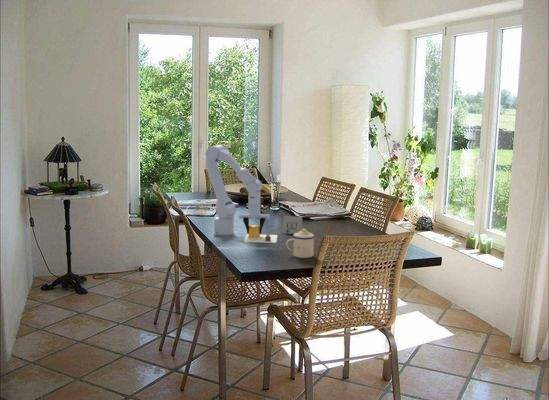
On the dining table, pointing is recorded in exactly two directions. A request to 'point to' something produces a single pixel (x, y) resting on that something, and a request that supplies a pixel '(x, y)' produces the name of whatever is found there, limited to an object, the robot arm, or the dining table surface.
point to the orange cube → (254, 231)
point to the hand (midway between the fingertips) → (254, 233)
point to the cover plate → (262, 239)
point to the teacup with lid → (302, 244)
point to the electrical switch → (292, 224)
